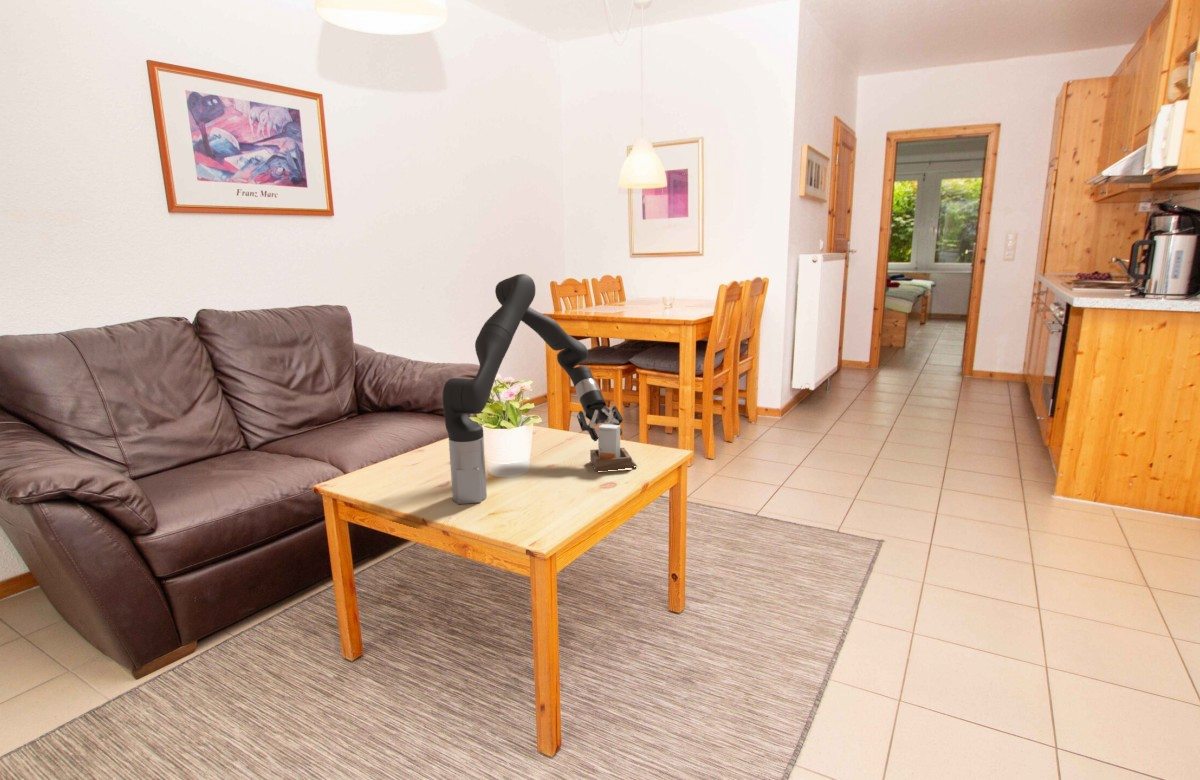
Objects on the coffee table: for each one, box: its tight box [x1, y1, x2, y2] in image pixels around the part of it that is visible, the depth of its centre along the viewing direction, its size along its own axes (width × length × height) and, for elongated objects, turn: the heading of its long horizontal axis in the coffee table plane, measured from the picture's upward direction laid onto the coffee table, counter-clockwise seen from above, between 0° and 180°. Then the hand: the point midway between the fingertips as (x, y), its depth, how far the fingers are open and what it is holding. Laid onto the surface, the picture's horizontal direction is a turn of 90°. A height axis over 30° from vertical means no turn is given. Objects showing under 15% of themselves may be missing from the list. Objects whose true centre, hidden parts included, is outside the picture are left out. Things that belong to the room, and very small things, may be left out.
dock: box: [589, 447, 638, 473], centre depth 198 cm, size 11×13×4 cm
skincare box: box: [597, 423, 621, 459], centre depth 196 cm, size 6×4×12 cm
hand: (608, 437), depth 197 cm, fingers open, 8 cm apart
